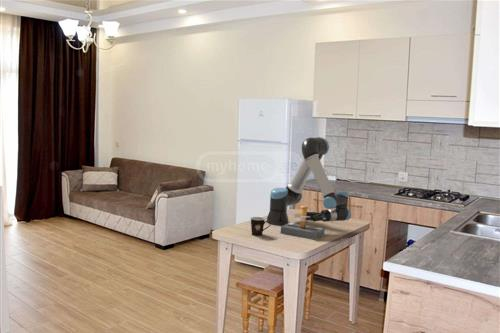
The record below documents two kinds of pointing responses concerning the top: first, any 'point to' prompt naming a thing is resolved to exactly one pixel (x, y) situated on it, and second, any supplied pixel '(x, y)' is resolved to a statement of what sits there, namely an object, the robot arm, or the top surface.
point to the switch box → (303, 231)
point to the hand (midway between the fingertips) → (296, 217)
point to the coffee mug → (257, 225)
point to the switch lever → (303, 213)
